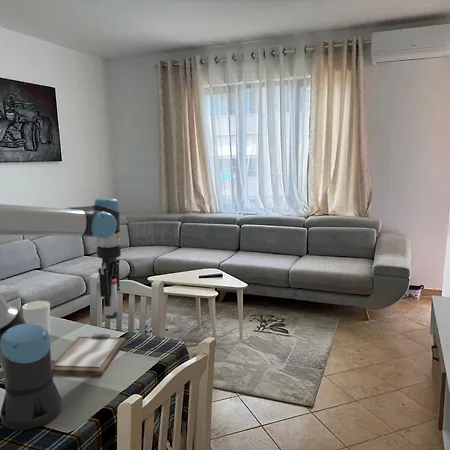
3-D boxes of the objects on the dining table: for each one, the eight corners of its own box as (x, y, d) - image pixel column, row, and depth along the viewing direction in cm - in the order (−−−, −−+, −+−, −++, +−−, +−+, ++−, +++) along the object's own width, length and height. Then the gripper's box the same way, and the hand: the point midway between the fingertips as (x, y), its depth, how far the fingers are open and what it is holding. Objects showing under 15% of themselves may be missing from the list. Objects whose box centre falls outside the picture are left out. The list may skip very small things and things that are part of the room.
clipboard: (47, 373, 134) (46, 365, 134) (79, 340, 158) (78, 333, 157) (102, 375, 133) (101, 367, 132) (125, 341, 156) (125, 334, 156)
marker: (103, 318, 141) (101, 281, 139) (107, 314, 145) (106, 278, 143) (115, 319, 140) (114, 282, 138) (119, 314, 144) (118, 278, 142)
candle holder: (56, 329, 167) (54, 301, 165) (44, 340, 158) (41, 310, 155) (33, 328, 168) (30, 300, 166) (19, 339, 159) (16, 309, 156)
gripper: (110, 251, 130) (113, 322, 134) (128, 240, 147) (129, 304, 150) (87, 250, 131) (90, 321, 134) (107, 239, 147) (109, 303, 151)
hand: (111, 312), depth 142 cm, fingers closed on marker, 4 cm apart
